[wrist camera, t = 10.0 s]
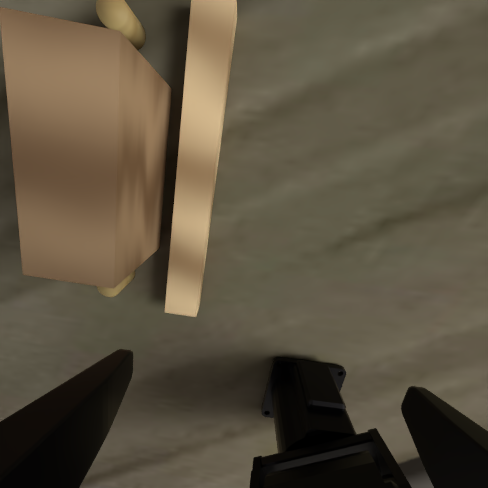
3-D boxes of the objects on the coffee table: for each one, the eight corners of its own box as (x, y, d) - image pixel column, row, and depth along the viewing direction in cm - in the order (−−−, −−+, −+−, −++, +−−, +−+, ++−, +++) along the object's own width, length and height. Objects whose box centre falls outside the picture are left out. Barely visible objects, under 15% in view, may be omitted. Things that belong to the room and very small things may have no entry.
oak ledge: (199, 305, 20) (193, 323, 18) (114, 293, 20) (96, 309, 18) (237, 15, 15) (235, -14, 12) (120, -8, 15) (95, -43, 12)
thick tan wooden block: (159, 247, 19) (113, 288, 12) (99, 237, 19) (19, 274, 12) (172, 89, 16) (120, 31, 9) (100, 75, 16) (-6, 6, 9)
